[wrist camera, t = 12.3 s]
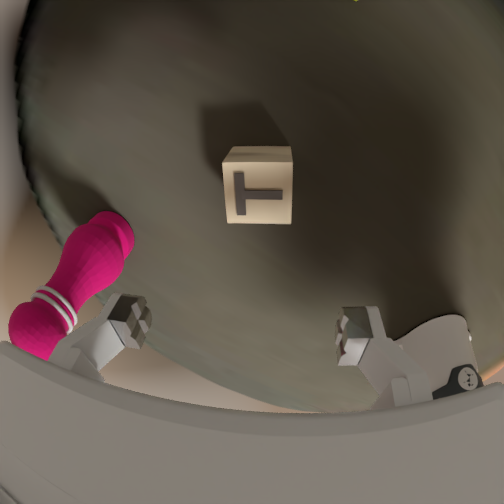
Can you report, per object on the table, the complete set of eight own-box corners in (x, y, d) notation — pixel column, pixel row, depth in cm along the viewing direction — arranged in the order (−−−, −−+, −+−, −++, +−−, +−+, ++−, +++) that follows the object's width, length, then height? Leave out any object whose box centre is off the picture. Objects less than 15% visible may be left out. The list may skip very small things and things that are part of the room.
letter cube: (289, 197, 25) (291, 225, 21) (236, 197, 26) (226, 224, 21) (290, 146, 22) (293, 163, 18) (233, 146, 23) (221, 163, 18)
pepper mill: (86, 201, 27) (-28, 327, 11) (138, 213, 28) (28, 370, 11) (92, 249, 31) (8, 372, 15) (139, 263, 32) (63, 407, 16)
